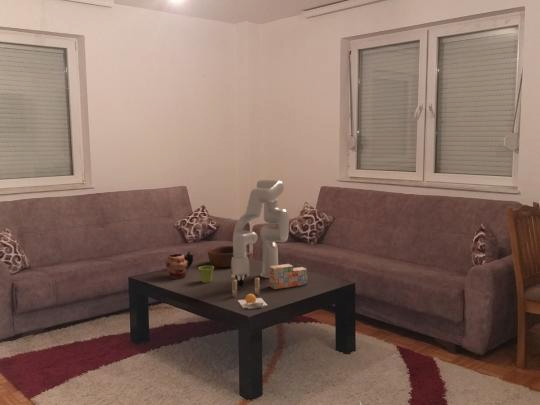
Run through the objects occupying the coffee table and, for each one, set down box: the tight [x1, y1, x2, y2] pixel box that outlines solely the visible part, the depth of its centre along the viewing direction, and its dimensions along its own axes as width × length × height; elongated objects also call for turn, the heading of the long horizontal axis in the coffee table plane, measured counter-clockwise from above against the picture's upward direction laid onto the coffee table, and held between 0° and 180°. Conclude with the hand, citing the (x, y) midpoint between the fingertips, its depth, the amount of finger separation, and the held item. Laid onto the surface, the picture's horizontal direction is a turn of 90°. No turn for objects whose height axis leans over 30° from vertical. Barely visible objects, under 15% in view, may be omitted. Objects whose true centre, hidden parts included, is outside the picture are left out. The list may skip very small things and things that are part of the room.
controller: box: [183, 251, 194, 269], centre depth 366 cm, size 4×12×10 cm, turn 133°
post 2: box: [254, 277, 261, 296], centre depth 304 cm, size 3×3×9 cm
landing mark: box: [237, 297, 268, 309], centre depth 290 cm, size 13×13×1 cm
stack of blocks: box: [269, 263, 308, 290], centre depth 321 cm, size 21×6×12 cm, turn 114°
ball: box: [244, 293, 257, 303], centre depth 287 cm, size 6×6×6 cm
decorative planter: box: [165, 253, 188, 279], centre depth 344 cm, size 20×12×14 cm, turn 40°
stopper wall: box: [246, 302, 264, 310], centre depth 282 cm, size 8×2×2 cm, turn 106°
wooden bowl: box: [207, 245, 233, 269], centre depth 373 cm, size 25×25×10 cm
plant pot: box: [198, 265, 215, 284], centre depth 332 cm, size 9×9×9 cm
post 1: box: [231, 279, 238, 298], centre depth 301 cm, size 3×3×9 cm
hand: (240, 286), depth 315 cm, fingers closed
